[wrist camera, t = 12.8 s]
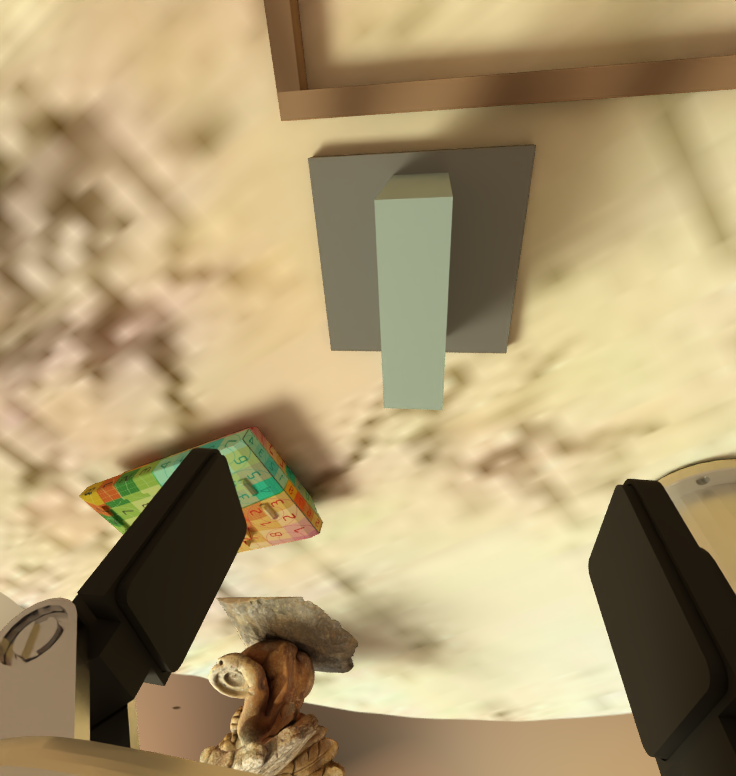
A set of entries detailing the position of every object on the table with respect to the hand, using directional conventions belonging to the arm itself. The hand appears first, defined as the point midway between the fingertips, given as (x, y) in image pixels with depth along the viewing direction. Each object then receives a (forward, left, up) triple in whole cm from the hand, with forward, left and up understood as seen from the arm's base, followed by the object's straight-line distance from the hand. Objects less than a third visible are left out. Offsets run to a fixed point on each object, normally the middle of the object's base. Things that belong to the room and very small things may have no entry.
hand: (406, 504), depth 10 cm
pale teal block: (0, 0, -18) cm, 18 cm away
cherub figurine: (+17, +49, -19) cm, 56 cm away
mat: (+1, 0, -19) cm, 19 cm away
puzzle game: (+20, +21, -20) cm, 36 cm away
